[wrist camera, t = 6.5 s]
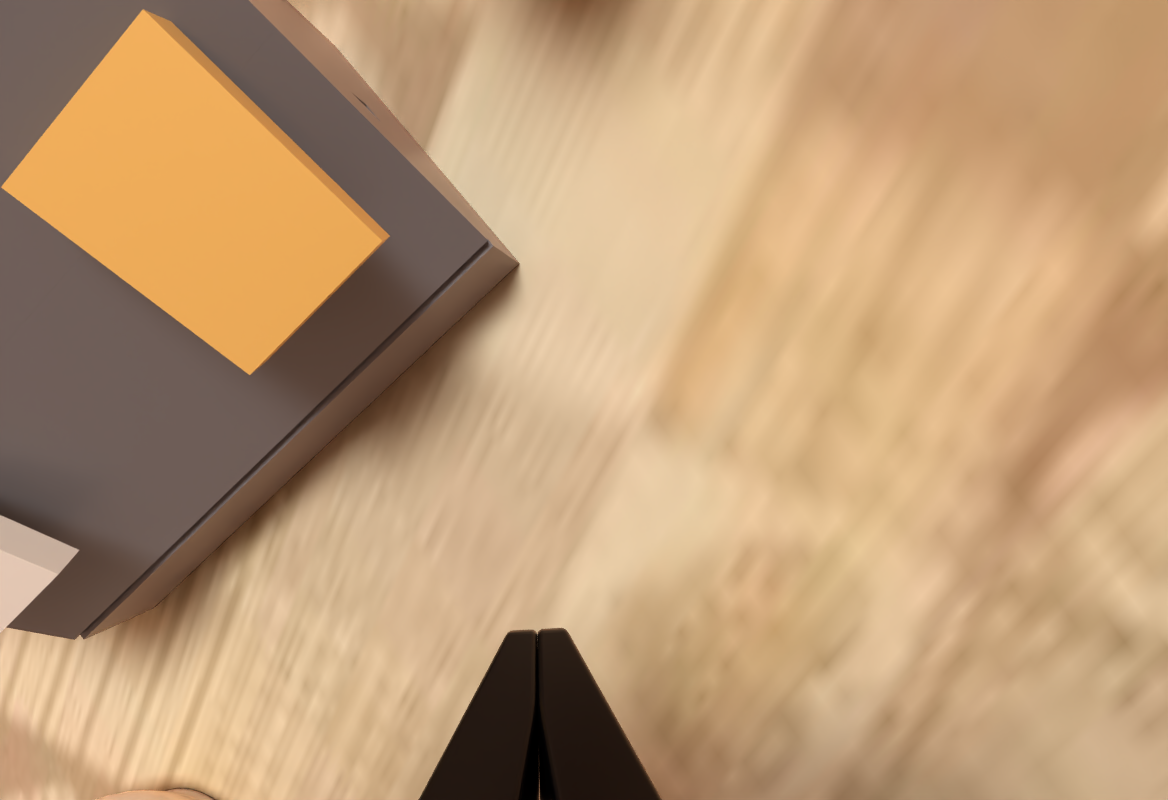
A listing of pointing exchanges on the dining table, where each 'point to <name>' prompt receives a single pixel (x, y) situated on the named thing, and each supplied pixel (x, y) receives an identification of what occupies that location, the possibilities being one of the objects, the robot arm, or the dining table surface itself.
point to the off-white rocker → (26, 566)
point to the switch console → (173, 352)
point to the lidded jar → (158, 795)
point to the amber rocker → (195, 196)
